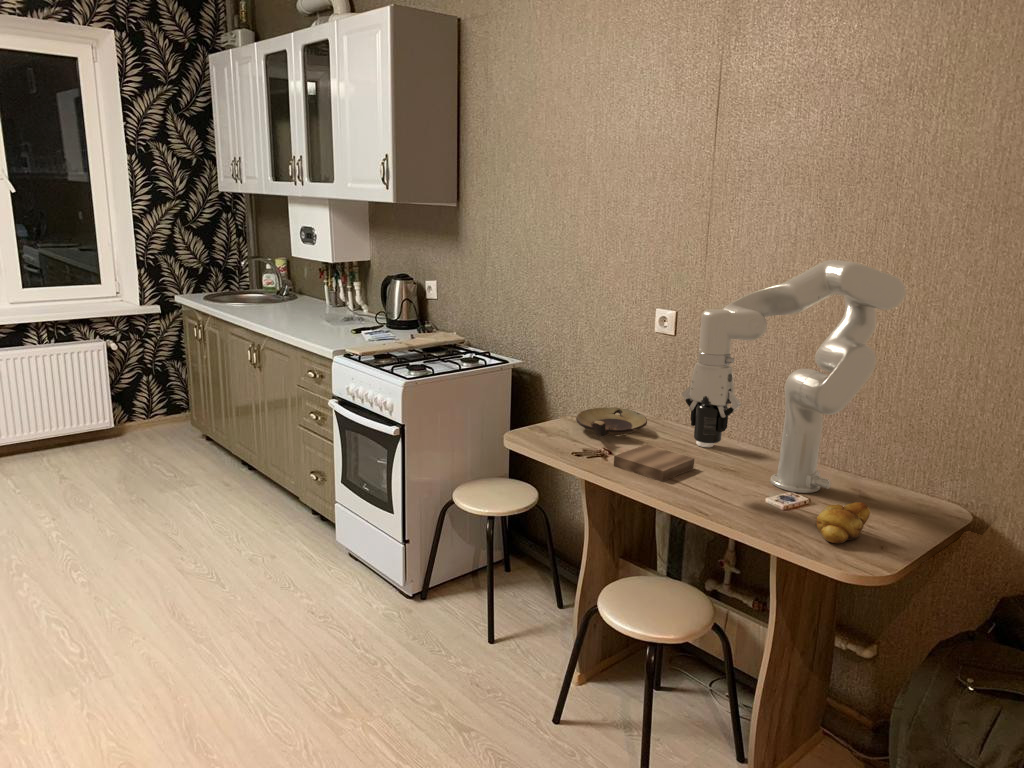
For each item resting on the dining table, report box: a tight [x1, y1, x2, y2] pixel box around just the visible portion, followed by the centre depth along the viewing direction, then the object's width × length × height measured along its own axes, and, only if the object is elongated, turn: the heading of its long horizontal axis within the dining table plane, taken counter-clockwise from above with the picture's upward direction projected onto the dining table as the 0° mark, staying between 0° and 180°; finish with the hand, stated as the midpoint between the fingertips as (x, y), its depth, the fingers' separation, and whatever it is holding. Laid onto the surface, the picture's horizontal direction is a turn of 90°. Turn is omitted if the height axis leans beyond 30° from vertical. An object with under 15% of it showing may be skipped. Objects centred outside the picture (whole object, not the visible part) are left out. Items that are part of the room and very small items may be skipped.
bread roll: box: [815, 501, 871, 544], centre depth 170 cm, size 13×10×8 cm
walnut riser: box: [613, 444, 695, 482], centre depth 211 cm, size 16×16×3 cm
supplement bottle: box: [693, 396, 723, 444], centre depth 190 cm, size 7×7×12 cm
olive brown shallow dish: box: [575, 406, 648, 438], centre depth 241 cm, size 22×30×8 cm
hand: (708, 427), depth 191 cm, fingers closed on supplement bottle, 6 cm apart
